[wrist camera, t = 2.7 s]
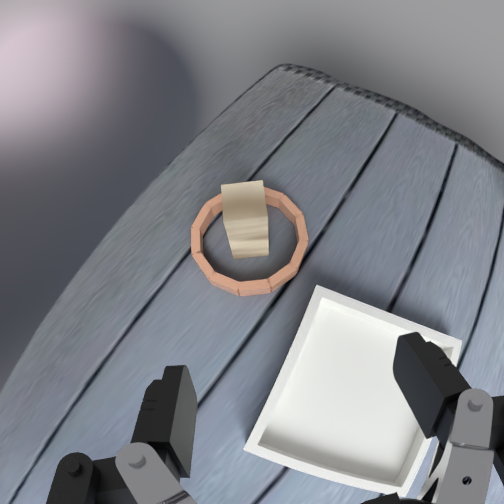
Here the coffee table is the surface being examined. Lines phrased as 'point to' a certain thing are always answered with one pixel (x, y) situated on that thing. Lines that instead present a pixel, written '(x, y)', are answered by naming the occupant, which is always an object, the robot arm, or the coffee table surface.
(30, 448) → the coffee table surface
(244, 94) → the coffee table surface
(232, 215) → the birch block
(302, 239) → the orange ring
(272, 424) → the tray
